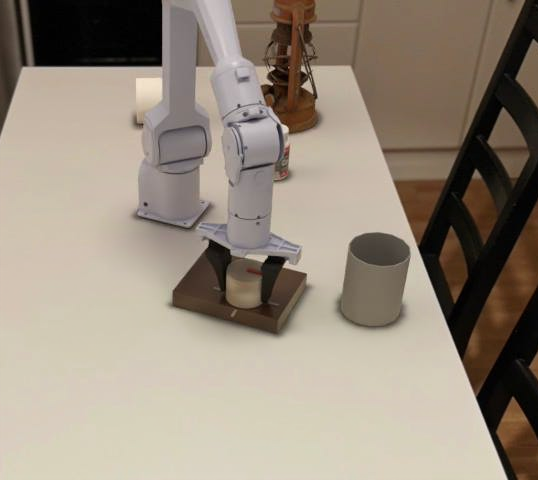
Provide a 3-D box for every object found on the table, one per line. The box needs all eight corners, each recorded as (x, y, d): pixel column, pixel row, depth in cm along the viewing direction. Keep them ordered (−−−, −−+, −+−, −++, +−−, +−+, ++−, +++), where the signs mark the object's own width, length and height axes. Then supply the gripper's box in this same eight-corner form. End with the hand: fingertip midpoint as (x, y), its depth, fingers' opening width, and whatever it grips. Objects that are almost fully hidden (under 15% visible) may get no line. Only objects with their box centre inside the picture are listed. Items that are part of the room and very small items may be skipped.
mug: (190, 130, 170) (190, 88, 164) (137, 131, 170) (135, 89, 164) (189, 101, 179) (188, 61, 173) (137, 102, 178) (136, 61, 173)
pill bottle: (285, 182, 156) (289, 136, 150) (258, 179, 157) (261, 134, 151) (289, 168, 159) (292, 123, 154) (262, 166, 160) (265, 121, 154)
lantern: (244, 98, 179) (251, -68, 159) (310, 96, 180) (325, -70, 159) (255, 139, 167) (264, -35, 146) (325, 136, 168) (344, -37, 147)
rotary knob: (219, 302, 127) (220, 274, 124) (234, 281, 131) (235, 252, 128) (256, 312, 126) (258, 284, 122) (271, 290, 129) (273, 262, 126)
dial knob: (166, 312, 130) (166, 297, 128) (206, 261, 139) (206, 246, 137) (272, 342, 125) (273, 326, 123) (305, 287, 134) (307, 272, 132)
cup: (404, 297, 132) (415, 238, 125) (394, 331, 127) (405, 271, 120) (346, 286, 134) (355, 227, 127) (334, 319, 129) (342, 259, 122)
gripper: (186, 210, 118) (186, 295, 128) (291, 236, 114) (284, 322, 123) (208, 185, 123) (206, 269, 132) (310, 208, 118) (301, 294, 128)
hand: (245, 293), depth 128 cm, fingers closed on rotary knob, 5 cm apart
